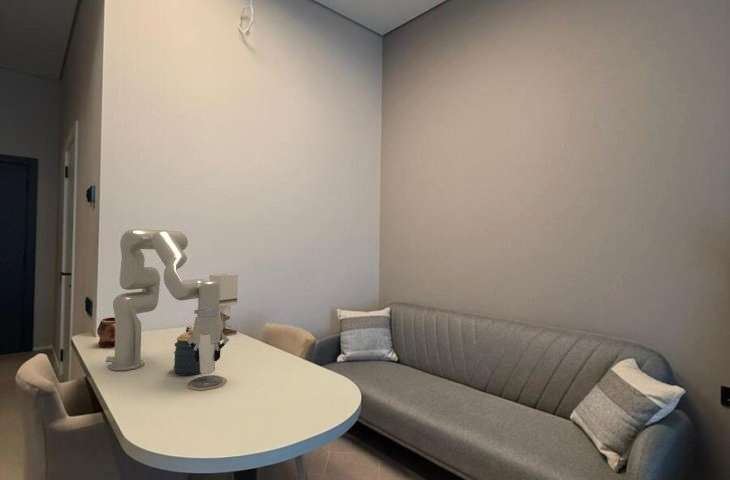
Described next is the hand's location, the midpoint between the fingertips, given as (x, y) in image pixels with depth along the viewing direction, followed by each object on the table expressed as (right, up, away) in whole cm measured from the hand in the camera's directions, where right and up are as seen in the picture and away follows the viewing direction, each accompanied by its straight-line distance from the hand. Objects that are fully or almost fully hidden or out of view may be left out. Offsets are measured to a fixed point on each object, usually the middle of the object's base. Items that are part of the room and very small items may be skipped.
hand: (207, 359), depth 144 cm
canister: (-13, -9, +14) cm, 21 cm away
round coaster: (0, -9, 0) cm, 9 cm away
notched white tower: (-23, -10, +77) cm, 81 cm away
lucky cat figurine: (-23, -10, +48) cm, 54 cm away
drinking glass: (0, -5, 0) cm, 5 cm away
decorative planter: (-70, -9, +49) cm, 85 cm away
